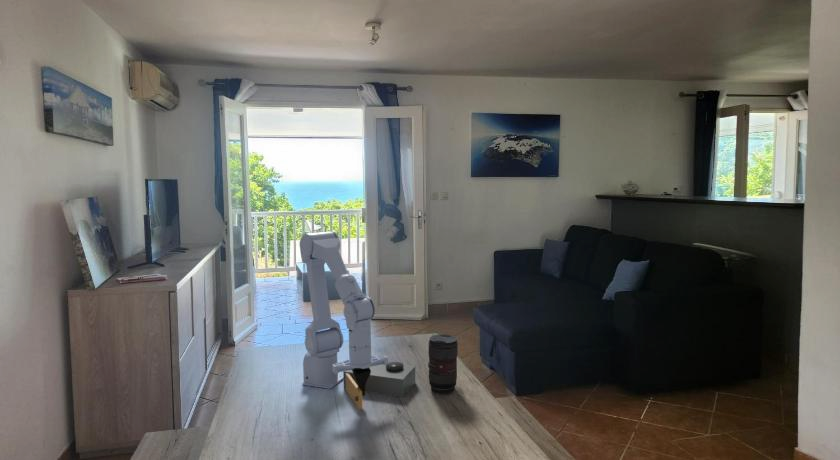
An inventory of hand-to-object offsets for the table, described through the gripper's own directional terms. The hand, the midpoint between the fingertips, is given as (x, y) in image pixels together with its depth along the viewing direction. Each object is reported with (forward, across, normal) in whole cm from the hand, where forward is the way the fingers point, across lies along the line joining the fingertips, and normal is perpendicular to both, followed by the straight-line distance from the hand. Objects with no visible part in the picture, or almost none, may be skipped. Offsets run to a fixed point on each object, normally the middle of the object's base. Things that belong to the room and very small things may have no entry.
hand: (361, 394), depth 137 cm
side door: (+3, -1, +4) cm, 5 cm away
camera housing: (+3, +9, +10) cm, 13 cm away
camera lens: (+3, +24, -1) cm, 24 cm away
